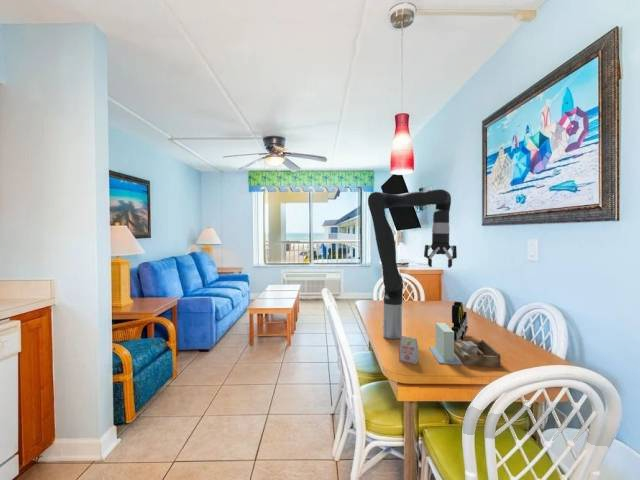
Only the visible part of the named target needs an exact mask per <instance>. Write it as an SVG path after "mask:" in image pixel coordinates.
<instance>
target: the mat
mask: <svg viewBox="0 0 640 480" xmlns="http://www.w3.org/2000/svg"><path fill="white" fill-rule="evenodd" d="M428 349H429V350H430V352H431V353H432V355H433V356H434V358H435V360H436V361H437V363H438V364H440V365H460V366H462V365H463V363H462V362H461V361H460V359H459V358H458V357H457V356H456V355H455V353H454V361H444V360H443V359H442V357H441V356H440V355H439V353H438V352H437V350H436V346H435V347H430V346H429V348H428Z"/></svg>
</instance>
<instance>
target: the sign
mask: <svg viewBox="0 0 640 480" xmlns="http://www.w3.org/2000/svg"><path fill="white" fill-rule="evenodd" d="M451 323H452V324H453V326H451V329H452V330H453V331H454V341H461V340H464V338H465V336H466V333H467V331H468V329H469V326H468V313H467V311H464V304H463V302H461V301H454V302H453V304H452V306H451Z"/></svg>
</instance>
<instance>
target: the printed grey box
mask: <svg viewBox="0 0 640 480" xmlns="http://www.w3.org/2000/svg"><path fill="white" fill-rule="evenodd" d="M399 339H400V340H399V346H398V361H399V362H403V363H406V364H411V365H416V364H417V363H418V362H419V345H418V344H419V343H418V339H417V338H414V337H410V336H409V337H408V336H404V335H402V336H401V338H399Z"/></svg>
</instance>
